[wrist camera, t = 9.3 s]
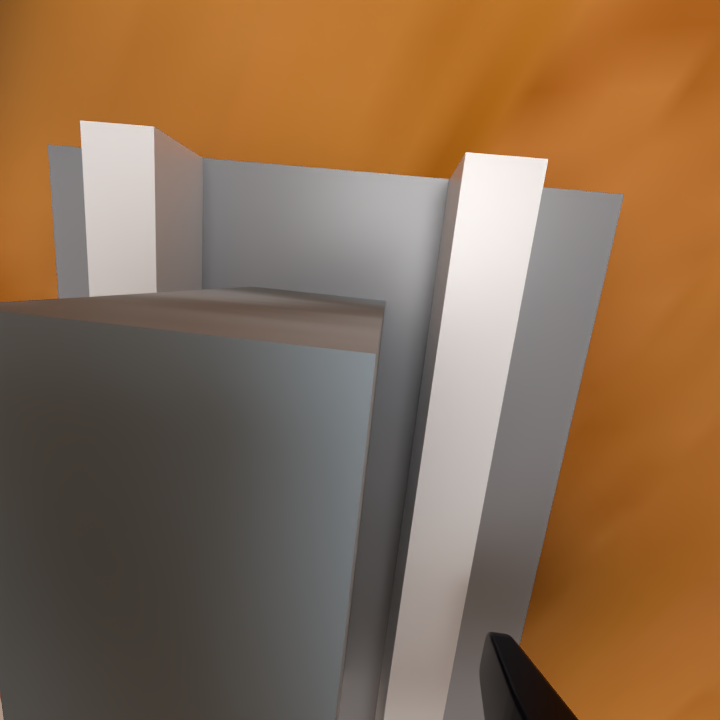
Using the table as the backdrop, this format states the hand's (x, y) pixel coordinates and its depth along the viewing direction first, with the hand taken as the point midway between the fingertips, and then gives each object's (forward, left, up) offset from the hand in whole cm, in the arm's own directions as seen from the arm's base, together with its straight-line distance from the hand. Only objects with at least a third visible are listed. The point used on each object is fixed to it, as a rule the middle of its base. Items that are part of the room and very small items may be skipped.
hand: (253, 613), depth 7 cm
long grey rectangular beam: (0, 0, -4) cm, 4 cm away
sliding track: (0, 0, -5) cm, 5 cm away
